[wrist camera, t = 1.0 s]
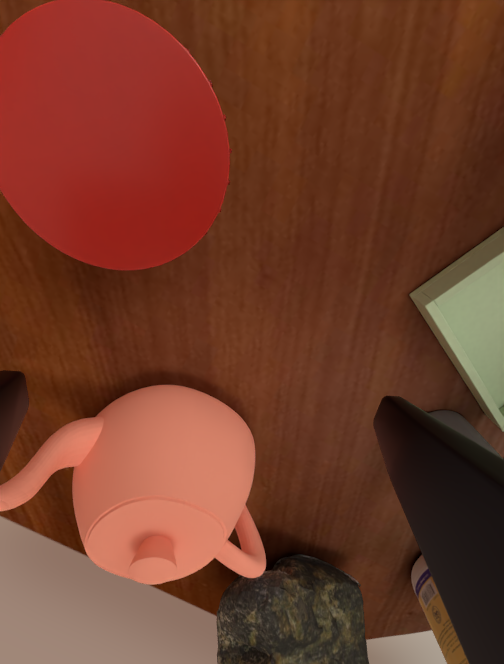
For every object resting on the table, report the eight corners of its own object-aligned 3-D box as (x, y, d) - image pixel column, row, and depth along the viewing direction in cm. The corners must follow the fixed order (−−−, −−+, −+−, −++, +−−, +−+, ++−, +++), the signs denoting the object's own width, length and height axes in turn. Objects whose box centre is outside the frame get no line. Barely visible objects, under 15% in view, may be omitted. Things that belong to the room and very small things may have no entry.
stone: (362, 562, 37) (444, 791, 24) (294, 606, 40) (333, 831, 27) (263, 511, 31) (299, 773, 18) (192, 567, 34) (179, 826, 21)
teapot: (211, 518, 31) (211, 654, 23) (6, 436, 25) (-100, 582, 16) (302, 435, 27) (340, 559, 19) (88, 311, 21) (5, 418, 13)
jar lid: (116, -40, 9) (90, -92, 7) (267, 168, 12) (278, 172, 10) (-27, 138, 11) (-81, 136, 9) (136, 288, 14) (123, 311, 12)
